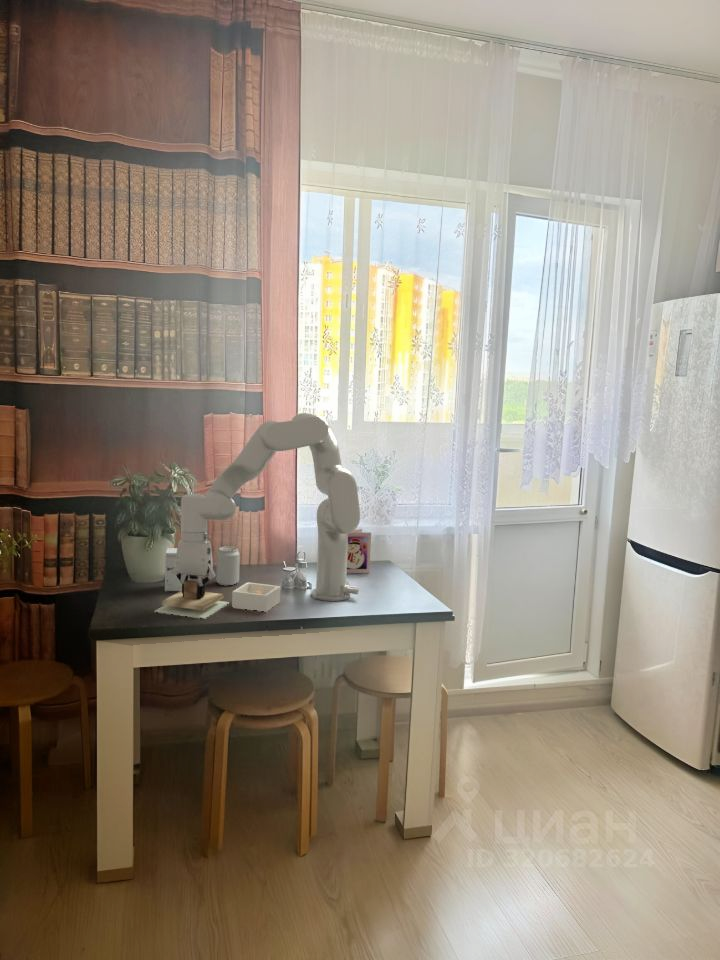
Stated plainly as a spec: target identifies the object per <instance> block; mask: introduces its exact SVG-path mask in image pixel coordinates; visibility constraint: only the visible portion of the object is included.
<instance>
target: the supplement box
mask: <svg viewBox="0 0 720 960" xmlns="http://www.w3.org/2000/svg"><path fill="white" fill-rule="evenodd" d="M165 551H166V552H165V561H164V563H165V566H164V567H165V570H164V592H180V591H182V584H181V583H180V580H179V579H178V578H177V576H175V575H174V574H173V573H172V569H173V568H174V566H175V565H176V554H177V547H172V548H171V547H167V548H166V550H165Z"/></svg>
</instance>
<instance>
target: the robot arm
mask: <svg viewBox="0 0 720 960" xmlns="http://www.w3.org/2000/svg"><path fill="white" fill-rule="evenodd" d="M305 447H309V450H310V452H311V457H312V462H313V468H314V476H315V477H314V478H315V485H316V488H317V490H319V492H320V493H322V494H323V495H325V496H327V498H325V499H324V500H323V501H321V502H320V503H319V505H318V508H317V510H316V525H317V553H316V554H317V560H316V582H315V583H316V584H315V588H314V589H312V590H311V592H310V595H311V597H312V598H314V599H316V600H320V601H326V602H339V601H344V600H348V599H349V598H351V594H352V595H358V594H359V588H358V587H357V586H352V585H350V584H349V581H348V580H347V574H348V573H347V550H348V535H347V534H349V533H351V532H353V531H354V530H357V528H358V526H359V524H360V521H361V509H360V501H359V493H358V486H357V482H356V481H357V480H356V478H355V477H354V475H353V473H352V472H351V471H349V470H348V469H347V468H344V467H343V465H342V459H341V453H340V448H339V445H338V441H337V438H336V436H335V435H334V433H333V432H332V430H331V429H330V426H329V423H328V421H327V420H326V419H325V417H323V416H320V415H318V414H312V413H307V412H301V413H297V414H295V415H294V416H293V417H292V419H291V420H286V421H276V420H266V421H264V422H262V423H260V425H259V426H258V427H257V429H256V430H255V432H254V433H253V435H252V436H250V438H249V440H248V441H247V443H246V444H245V446H244V447H243V448H242V450H241V452H240V453H239V454H238V455H237V457H235V459H234V460H233V461H232V462H231V463H230V464H229V465H228V466H227V467H225V469H224V470H223V471H222V472H221V473H220V474H219V475H218V476H217V478H216V479H215V480H214V482H213V483H212V484H211V486H210V487H209V489H208V490H207V491H206V494H201V493H187V494H184V495H183V496H182V497H181V500H180V501H181V502H180V539H179V540H178V543H177V547H176V548H177V554H176V565H175V566H174V568H173V569H172V573H173V574H174V575H175V576H177V578H178V579H179V580H180V583H181V584H182V594H183V597H184V582H185V581H187V580H189V579H190V578H189V575H195V576H198V578H197V579H198V583H199V586H197V599H201V598H203V597H204V595H205V592H206V584H207V583H208V582H210V581H211V580H213V579H214V578H216V571H214V563H213V561H214V560H213V551H212V545H211V541H210V540H211V538H212V534H210V533H209V531H208V520H213V521H215V520H216V521H227V520H230V519H231V518H233V516H235V513H236V511H237V505H236V502H235V500H234V499H233V497H234V496H235V494H236V493H237V492H238V491H239V490H240V488H241V487H242V486H244V485H245V484H246V483H248V482H250V481H252V480H254V479H256V478H257V477H259V476H260V475H261V474H262V473H263V471H264V470H265V468H266V466H268V464H269V462H270V461H271V460H272V458H273V457H274V455H275V454H276V453H277V452H284V451H285V452H286V451H291V450H296V449H301V448H305ZM209 539H210V540H209ZM207 574H208V575H207ZM206 575H207V576H206Z"/></svg>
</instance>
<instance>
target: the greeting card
mask: <svg viewBox="0 0 720 960" xmlns="http://www.w3.org/2000/svg"><path fill="white" fill-rule="evenodd" d="M347 535H348V550H347V573H346V574H370V567H371V566H370V565H371V549H372V548H371V545H372V544H371V543H372V532H368V531H367V532H363V528H358V529H355V530H354V531H353V532H351V533H349V534H347Z"/></svg>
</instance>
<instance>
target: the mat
mask: <svg viewBox="0 0 720 960" xmlns="http://www.w3.org/2000/svg"><path fill="white" fill-rule="evenodd" d="M227 604H228V605H229V604H230V602H229V601H223V600H219V601H217V602H216V603H214V604H212V605H211V606H209V607H208V608H206V609H204V610H197V609H189V608H181V607H174V606H166V605H162V606H161V607H160V608H159V607H158V608H157V609H154V613H156V612H158V614H164V613H165V614H164V615H171V614H173V615H172V616H178V615H179V616H180V617H185V616H187V618H194V619H200V618H202V619H203V620H206V619H208V618H209V617H210V615H211V616H212V615H214V614H216V613H217V612H218V611H220V610H222V609H223V608H225V607H226V606H228V605H227ZM221 608H222V609H221ZM179 616H178V617H179ZM207 617H208V618H207ZM202 619H201V620H202Z"/></svg>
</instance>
